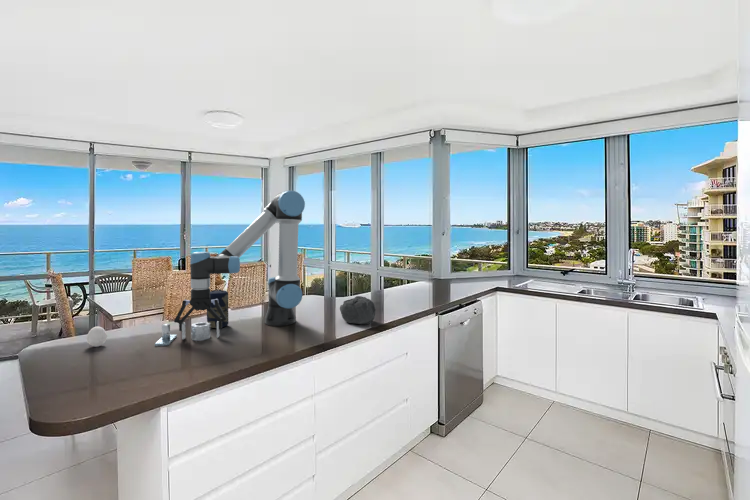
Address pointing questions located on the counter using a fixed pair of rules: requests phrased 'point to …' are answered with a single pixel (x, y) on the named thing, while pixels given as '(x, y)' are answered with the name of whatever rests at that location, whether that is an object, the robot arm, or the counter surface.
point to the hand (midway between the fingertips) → (201, 337)
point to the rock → (358, 310)
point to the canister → (223, 302)
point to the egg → (96, 336)
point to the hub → (200, 331)
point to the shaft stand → (165, 336)
